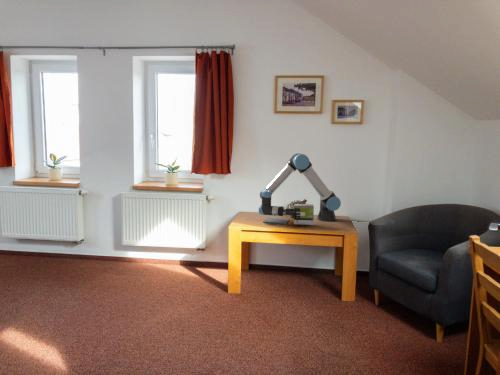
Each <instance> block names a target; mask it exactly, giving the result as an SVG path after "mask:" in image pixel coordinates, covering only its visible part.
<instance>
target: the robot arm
mask: <svg viewBox="0 0 500 375" xmlns="http://www.w3.org/2000/svg"><path fill="white" fill-rule="evenodd" d="M296 171H298V172H299V173H300V174H302V175H303V176H304V177H305V178H306V180H307V181H308V182H309V184H310V185H311V186H312V188H313V189H314V190H315V192H316V193H317V194H318V195H319V198H320V199H319V212H318V213H317V216H316V217H317V220H318V221H323V222H333V221H336V220H337V218H336V214H335V211H338V210H339V209H340V207H341V205H342V202H341V199H340V198H339V197H338V196H337V195H336V194H335V192H334V191H333V190H330V189H329V188H328V186H327V185H326V183H324V182H323V180H322V179H321V177H320V176H319V175H318V173H317V172H316V171H315V169H314V168H313V164H312V163H311V161H310V158H309V157H308V156H307V155H306V154H304V153H294V154H292V156H291V157H290V158H289V160H288V161H287V162H286V163H285V166H284V167H283V168H282V169H281V170H280V171H279V173H278V174H277V175H276V176H275V177H274V178H273V179H272V180H271V181H270V182H269V184H267V185H266V187H265V188H264V189H263V190H261V191H260V192H259V197H260V199H261V205H259V207H258V214H259V215H261V216H262V215H263V216H273V217H277V216H278V217H283V216H285V215H286V216H293V217H294V216H296V215H297V216H305V212H294V208H284V206H283V205H281V206H280V205H272V195H273V194H274V193H275V192H276V191H277V189H279V188H280V187H281V185H282V184H283V183H284V182H285V181H286V180H287V179H288V178H289V177H290V175H292V173H294V172H296Z"/></svg>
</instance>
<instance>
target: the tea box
mask: <svg viewBox="0 0 500 375" xmlns="http://www.w3.org/2000/svg"><path fill="white" fill-rule="evenodd" d="M293 209H294V212H305V216H297V215H296V216H293V225H312V226H314V215H315V214H314V212H315V211H314V210H315V209H314V204H313V203H294V204H293Z"/></svg>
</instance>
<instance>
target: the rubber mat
mask: <svg viewBox="0 0 500 375" xmlns="http://www.w3.org/2000/svg"><path fill="white" fill-rule="evenodd" d="M289 221H290V218H281V217H280V218H279V217H267V218H266V219H264V220H263V223H264V224H275V225H286V224H287V223H288V222H289Z"/></svg>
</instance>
